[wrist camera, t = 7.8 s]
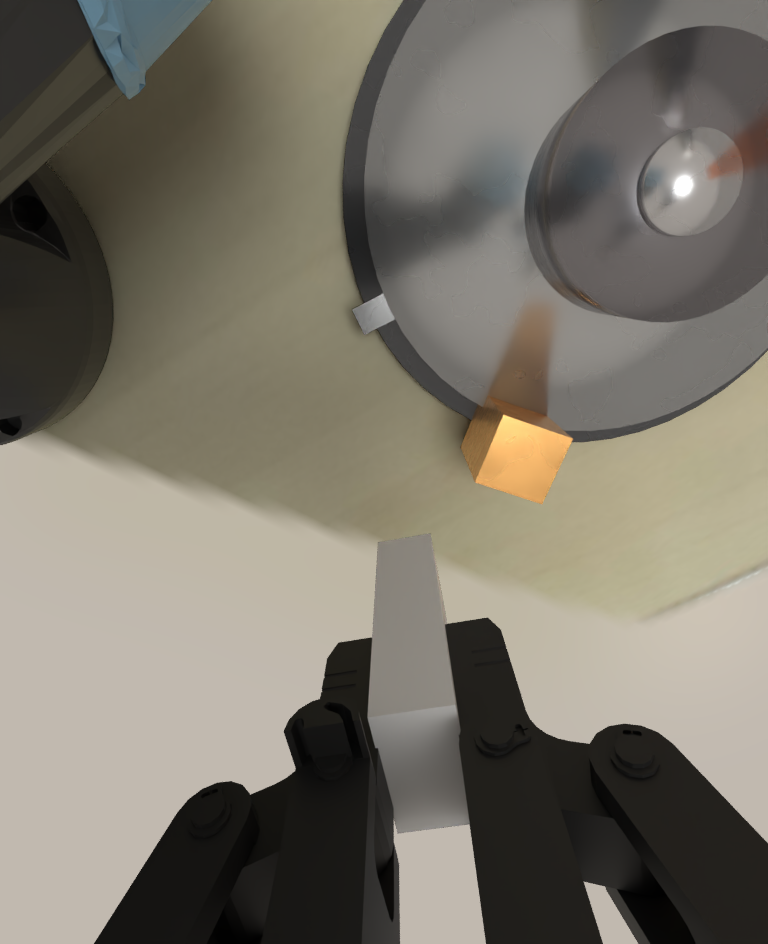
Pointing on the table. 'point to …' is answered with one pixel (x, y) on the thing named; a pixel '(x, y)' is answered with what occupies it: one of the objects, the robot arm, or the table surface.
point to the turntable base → (362, 253)
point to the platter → (523, 231)
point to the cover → (659, 181)
